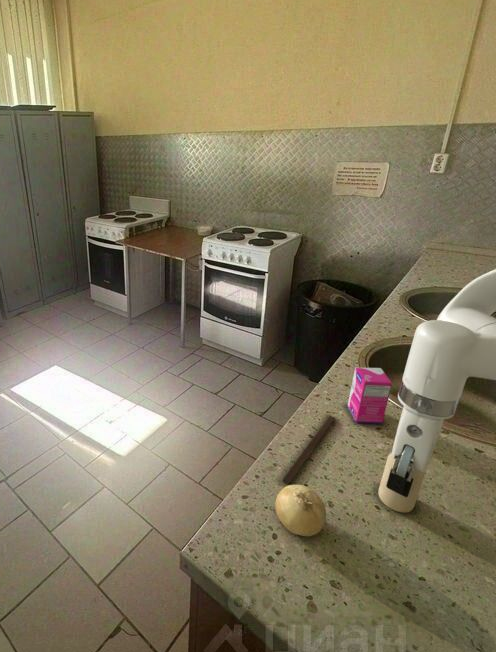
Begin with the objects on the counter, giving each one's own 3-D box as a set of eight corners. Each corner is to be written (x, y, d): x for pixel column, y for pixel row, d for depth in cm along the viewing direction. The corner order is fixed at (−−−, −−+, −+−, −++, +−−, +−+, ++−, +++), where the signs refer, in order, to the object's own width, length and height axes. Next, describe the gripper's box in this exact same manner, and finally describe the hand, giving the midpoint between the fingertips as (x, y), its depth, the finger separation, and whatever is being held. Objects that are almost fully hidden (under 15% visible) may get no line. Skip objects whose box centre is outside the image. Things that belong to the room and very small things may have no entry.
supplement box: (346, 406, 94) (354, 366, 90) (372, 408, 94) (382, 367, 89) (354, 423, 89) (364, 381, 85) (383, 425, 88) (394, 383, 84)
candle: (379, 506, 70) (391, 463, 66) (376, 482, 74) (388, 441, 71) (416, 517, 68) (431, 474, 64) (411, 492, 72) (424, 451, 68)
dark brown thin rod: (334, 420, 90) (335, 417, 90) (288, 484, 75) (289, 482, 74) (329, 417, 91) (329, 415, 91) (282, 481, 75) (282, 479, 75)
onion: (264, 509, 70) (268, 480, 67) (299, 494, 73) (304, 466, 70) (296, 551, 63) (301, 520, 60) (334, 533, 66) (341, 503, 63)
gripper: (447, 437, 54) (415, 527, 61) (465, 381, 66) (436, 463, 72) (385, 412, 59) (362, 498, 66) (412, 364, 70) (390, 442, 77)
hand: (401, 479), depth 69 cm, fingers closed on candle, 5 cm apart
